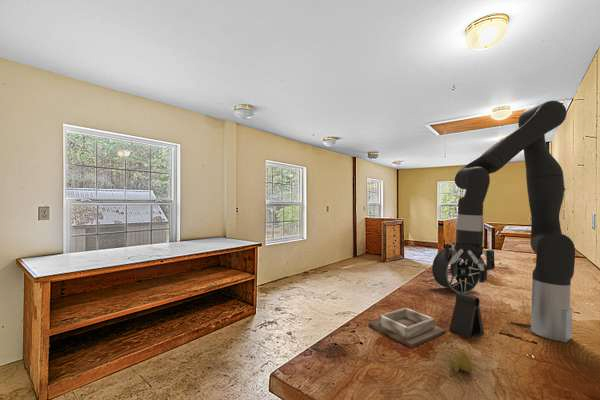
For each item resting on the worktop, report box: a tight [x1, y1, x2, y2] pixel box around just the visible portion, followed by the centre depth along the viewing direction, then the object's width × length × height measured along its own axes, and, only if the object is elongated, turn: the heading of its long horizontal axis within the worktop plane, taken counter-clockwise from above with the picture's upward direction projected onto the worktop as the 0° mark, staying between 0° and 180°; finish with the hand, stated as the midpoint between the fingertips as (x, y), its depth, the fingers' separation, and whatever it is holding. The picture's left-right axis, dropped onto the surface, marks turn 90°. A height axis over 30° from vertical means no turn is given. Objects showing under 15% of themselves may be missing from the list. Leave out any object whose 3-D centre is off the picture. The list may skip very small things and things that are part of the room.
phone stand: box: [448, 292, 485, 339], centre depth 90 cm, size 9×6×12 cm, turn 118°
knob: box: [448, 349, 474, 374], centre depth 68 cm, size 5×5×5 cm
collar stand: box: [368, 306, 447, 349], centre depth 90 cm, size 16×18×4 cm
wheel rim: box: [431, 247, 480, 294], centre depth 134 cm, size 20×9×20 cm, turn 105°
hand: (467, 278), depth 90 cm, fingers open, 8 cm apart
